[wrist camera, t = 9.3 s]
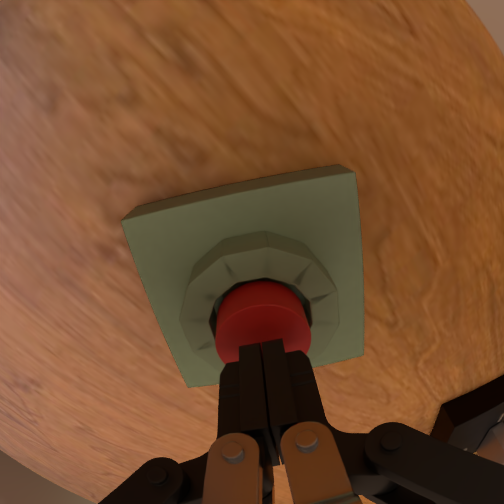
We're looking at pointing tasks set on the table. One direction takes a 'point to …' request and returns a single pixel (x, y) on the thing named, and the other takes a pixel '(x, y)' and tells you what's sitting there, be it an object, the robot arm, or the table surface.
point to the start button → (260, 319)
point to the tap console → (471, 416)
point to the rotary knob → (493, 444)
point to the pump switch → (253, 260)
